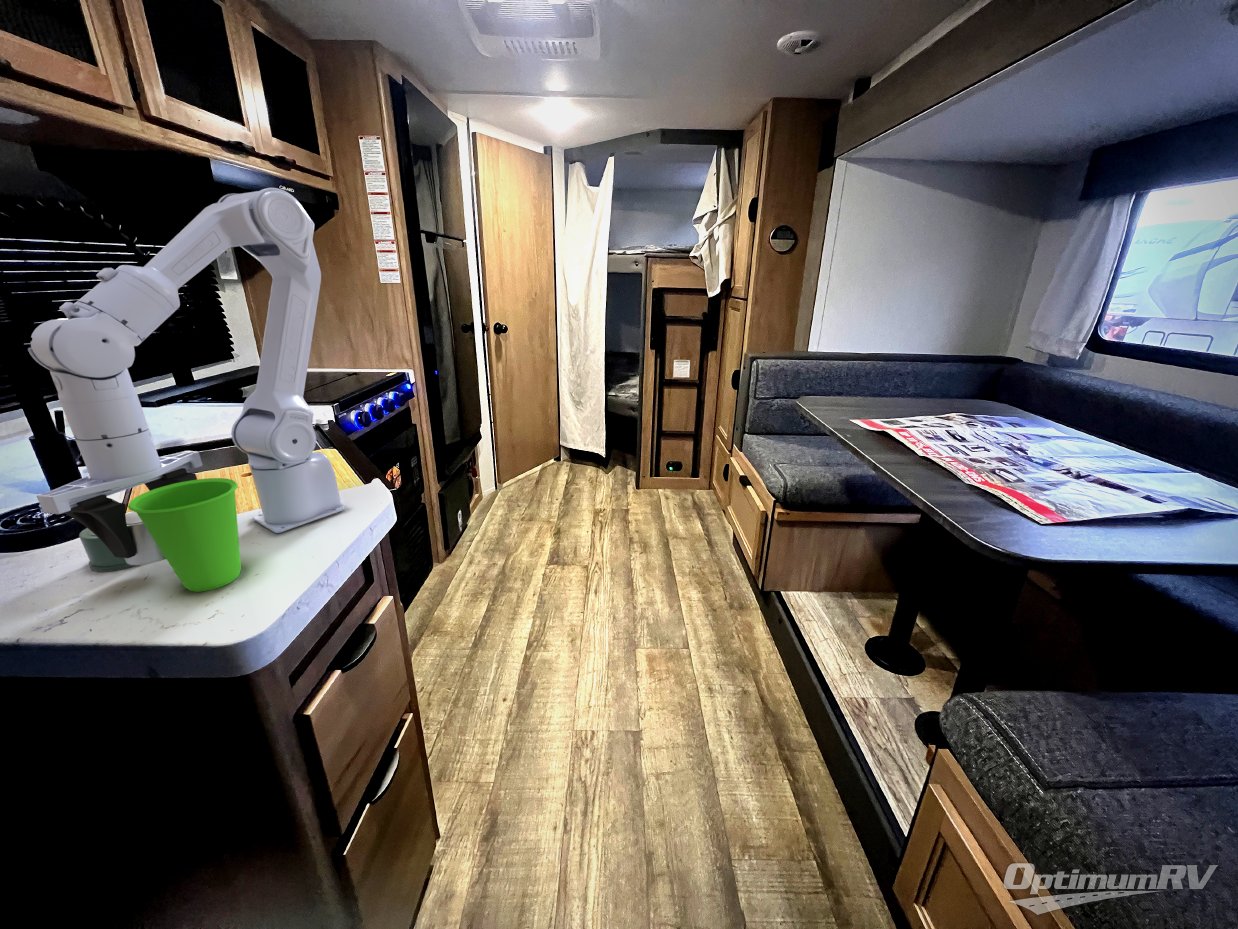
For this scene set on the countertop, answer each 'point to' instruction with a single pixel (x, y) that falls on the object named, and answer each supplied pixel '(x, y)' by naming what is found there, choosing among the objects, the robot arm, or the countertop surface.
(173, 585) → the countertop surface
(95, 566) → the green round puck
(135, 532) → the steel cup
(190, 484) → the cup
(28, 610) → the countertop surface
